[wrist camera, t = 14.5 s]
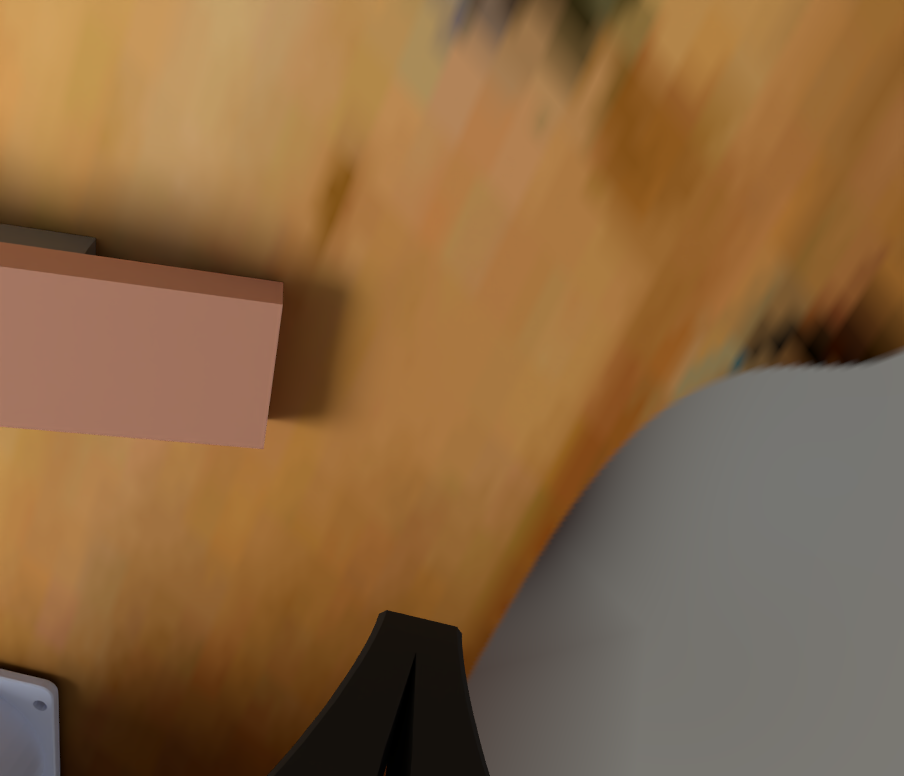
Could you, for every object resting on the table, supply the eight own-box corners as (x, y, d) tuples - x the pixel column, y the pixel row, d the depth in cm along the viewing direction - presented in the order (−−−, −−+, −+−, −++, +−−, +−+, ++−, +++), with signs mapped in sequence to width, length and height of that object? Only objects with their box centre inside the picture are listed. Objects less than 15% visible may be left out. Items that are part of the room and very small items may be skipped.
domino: (263, 448, 21) (-61, 421, 19) (264, 419, 23) (-38, 390, 21) (283, 304, 19) (-75, 256, 17) (283, 282, 21) (-48, 234, 19)
